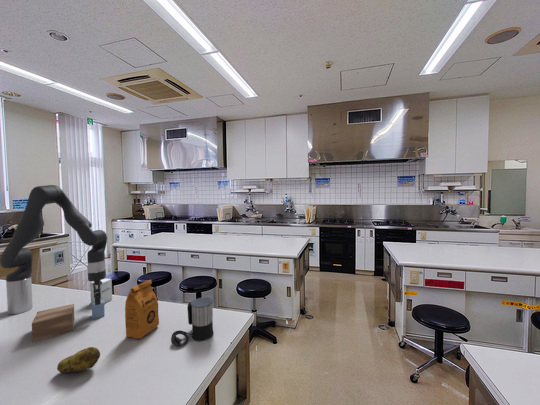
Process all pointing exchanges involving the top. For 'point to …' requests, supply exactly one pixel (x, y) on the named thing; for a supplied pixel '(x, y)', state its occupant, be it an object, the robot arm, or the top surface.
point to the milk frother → (197, 321)
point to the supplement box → (103, 291)
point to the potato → (79, 360)
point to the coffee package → (141, 310)
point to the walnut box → (53, 322)
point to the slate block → (98, 310)
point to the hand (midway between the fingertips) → (98, 301)
